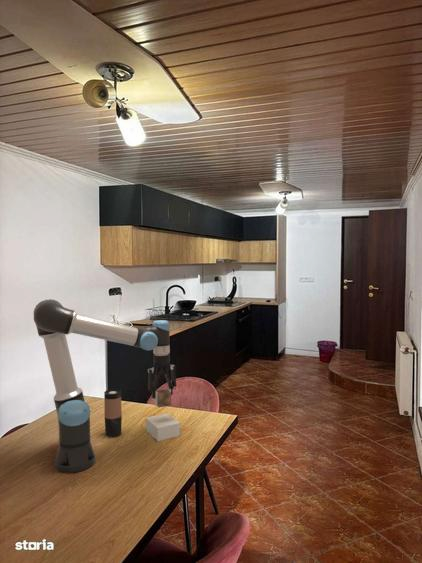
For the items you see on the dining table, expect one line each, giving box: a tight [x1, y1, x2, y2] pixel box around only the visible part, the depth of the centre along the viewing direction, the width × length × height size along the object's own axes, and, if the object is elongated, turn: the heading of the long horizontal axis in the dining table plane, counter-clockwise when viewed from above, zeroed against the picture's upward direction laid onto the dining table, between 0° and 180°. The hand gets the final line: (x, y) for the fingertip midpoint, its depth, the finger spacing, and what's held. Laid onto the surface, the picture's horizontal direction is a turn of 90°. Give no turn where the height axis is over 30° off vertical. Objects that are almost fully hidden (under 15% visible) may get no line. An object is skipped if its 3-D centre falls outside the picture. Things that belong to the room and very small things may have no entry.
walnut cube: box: [156, 388, 172, 408], centre depth 185 cm, size 6×6×6 cm
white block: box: [145, 413, 181, 442], centre depth 186 cm, size 11×14×6 cm
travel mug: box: [103, 388, 123, 438], centre depth 185 cm, size 8×8×20 cm
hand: (162, 403), depth 185 cm, fingers closed on walnut cube, 6 cm apart
